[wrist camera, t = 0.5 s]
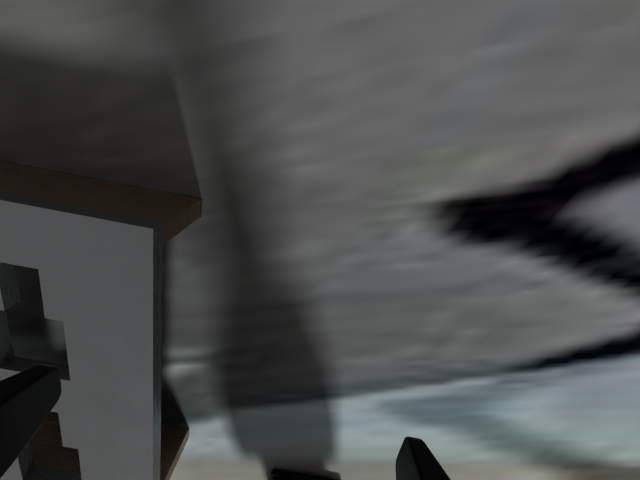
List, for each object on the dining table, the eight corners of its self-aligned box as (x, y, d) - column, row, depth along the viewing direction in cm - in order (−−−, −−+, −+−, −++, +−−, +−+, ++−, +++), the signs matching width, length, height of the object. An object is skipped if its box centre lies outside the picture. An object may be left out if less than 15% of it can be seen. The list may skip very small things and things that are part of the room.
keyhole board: (188, 438, 29) (152, 515, 23) (30, 410, 29) (-45, 481, 23) (201, 199, 21) (153, 228, 16) (-16, 157, 21) (-144, 172, 15)
